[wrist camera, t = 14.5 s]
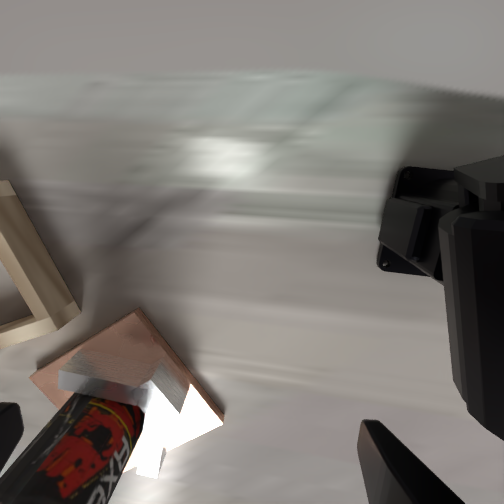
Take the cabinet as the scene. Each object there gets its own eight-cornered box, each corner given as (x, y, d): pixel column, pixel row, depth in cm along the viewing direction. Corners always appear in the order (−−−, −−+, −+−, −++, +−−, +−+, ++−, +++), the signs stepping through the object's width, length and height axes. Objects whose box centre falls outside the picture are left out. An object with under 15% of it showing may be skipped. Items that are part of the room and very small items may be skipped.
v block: (124, 464, 26) (104, 505, 23) (36, 370, 24) (1, 401, 20) (224, 415, 24) (217, 452, 21) (138, 307, 22) (117, 330, 18)
